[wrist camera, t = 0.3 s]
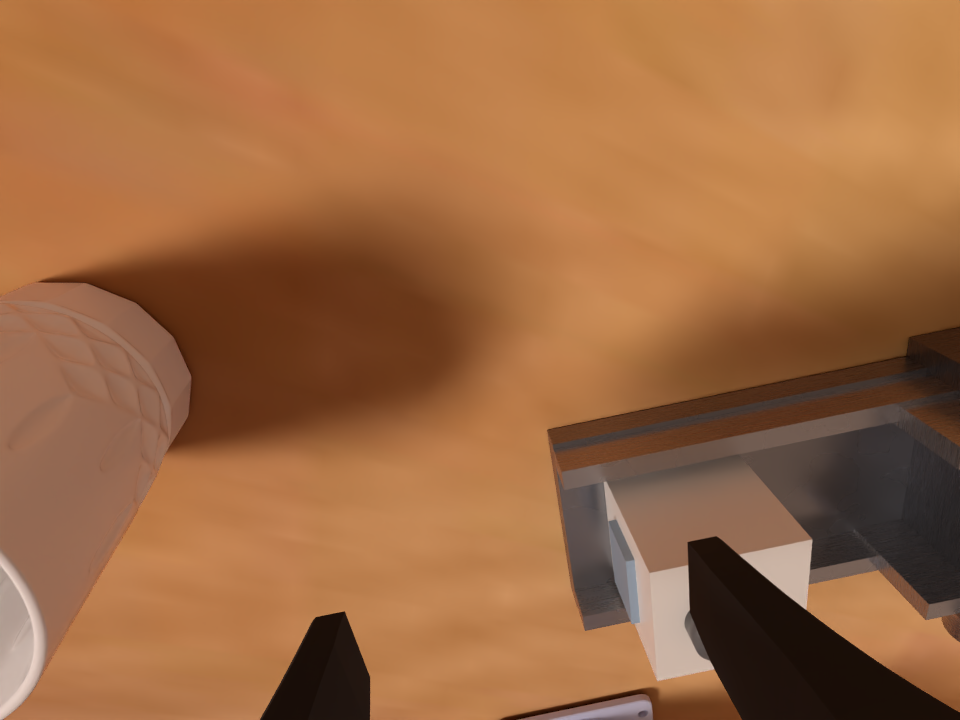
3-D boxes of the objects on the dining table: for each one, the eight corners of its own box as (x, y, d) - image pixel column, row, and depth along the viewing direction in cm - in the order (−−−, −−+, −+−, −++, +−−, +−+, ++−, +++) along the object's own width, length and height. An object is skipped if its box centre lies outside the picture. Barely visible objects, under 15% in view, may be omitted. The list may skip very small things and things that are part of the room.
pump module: (731, 545, 24) (816, 672, 19) (605, 571, 24) (657, 705, 19) (732, 446, 22) (829, 559, 17) (594, 475, 22) (649, 596, 17)
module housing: (974, 564, 28) (1117, 688, 22) (580, 646, 28) (622, 792, 22) (1039, 311, 22) (1253, 389, 16) (544, 412, 22) (587, 526, 16)
